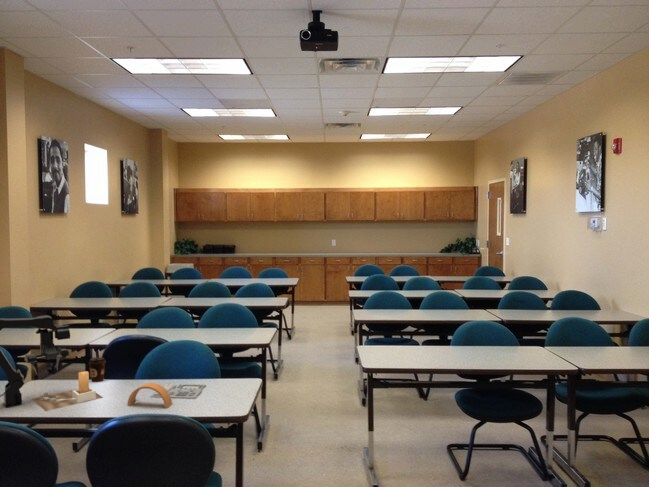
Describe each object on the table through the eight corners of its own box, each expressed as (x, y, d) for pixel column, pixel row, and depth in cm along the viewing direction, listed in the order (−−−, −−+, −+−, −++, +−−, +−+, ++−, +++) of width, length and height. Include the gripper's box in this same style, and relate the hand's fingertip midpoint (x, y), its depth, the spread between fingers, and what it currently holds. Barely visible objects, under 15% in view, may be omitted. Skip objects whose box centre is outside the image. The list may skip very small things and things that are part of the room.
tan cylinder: (78, 399, 250) (77, 374, 249) (79, 396, 254) (79, 371, 254) (88, 398, 251) (88, 373, 251) (89, 395, 256) (89, 370, 255)
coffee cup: (93, 385, 276) (93, 361, 275) (85, 382, 281) (85, 359, 280) (109, 381, 283) (108, 358, 282) (100, 378, 288) (100, 355, 287)
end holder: (78, 403, 247) (78, 394, 247) (72, 398, 253) (72, 390, 253) (95, 398, 253) (95, 390, 252) (89, 394, 259) (89, 387, 258)
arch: (133, 401, 252) (133, 381, 252) (172, 404, 249) (171, 383, 248) (127, 406, 246) (126, 385, 246) (166, 408, 243) (166, 387, 242)
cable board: (45, 413, 237) (45, 405, 237) (31, 401, 253) (31, 394, 252) (103, 399, 255) (103, 392, 255) (87, 388, 271) (86, 382, 270)
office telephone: (149, 393, 258) (165, 381, 278) (149, 399, 258) (166, 385, 278) (194, 394, 255) (208, 381, 275) (195, 400, 255) (208, 386, 275)
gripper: (30, 347, 243) (31, 380, 243) (72, 340, 256) (73, 372, 256) (23, 343, 251) (24, 375, 251) (64, 337, 264) (65, 367, 264)
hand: (47, 372), depth 256 cm, fingers open, 9 cm apart
